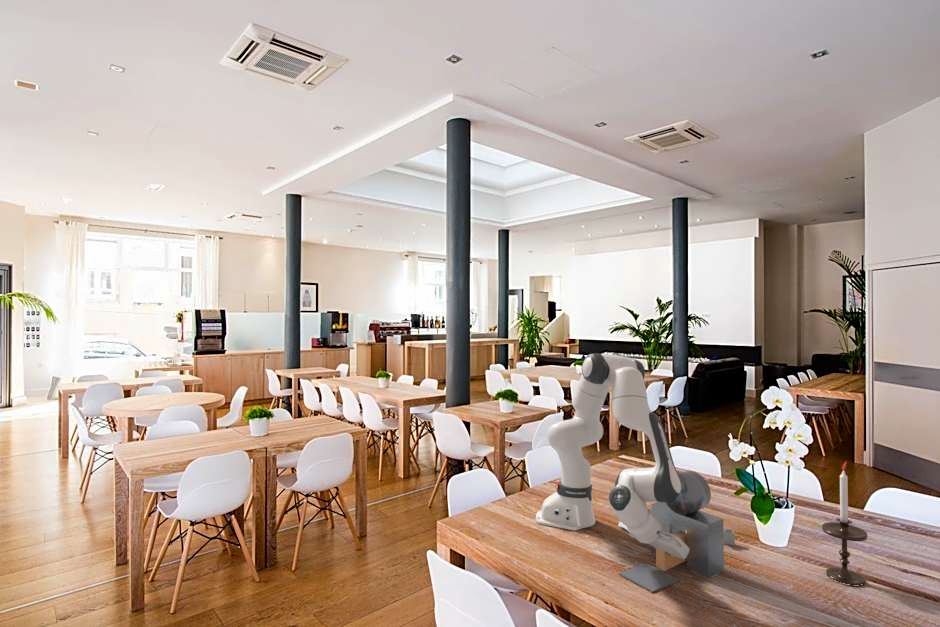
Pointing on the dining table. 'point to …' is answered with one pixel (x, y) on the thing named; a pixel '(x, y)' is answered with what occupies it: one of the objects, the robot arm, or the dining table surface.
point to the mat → (648, 577)
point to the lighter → (729, 536)
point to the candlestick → (844, 537)
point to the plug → (666, 560)
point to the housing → (694, 524)
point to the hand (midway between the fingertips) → (666, 551)
